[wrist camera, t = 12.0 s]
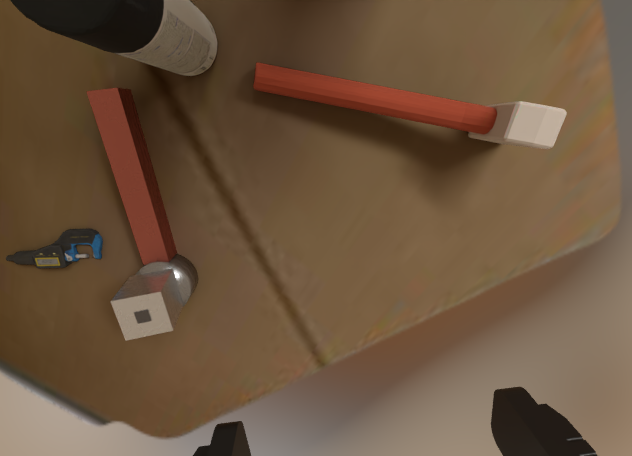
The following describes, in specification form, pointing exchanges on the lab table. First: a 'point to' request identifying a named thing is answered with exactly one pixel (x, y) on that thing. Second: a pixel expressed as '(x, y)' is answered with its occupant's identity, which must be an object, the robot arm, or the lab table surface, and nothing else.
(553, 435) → the robot arm
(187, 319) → the lab table surface
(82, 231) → the micrometer
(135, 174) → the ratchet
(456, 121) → the mallet
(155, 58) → the spray can
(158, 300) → the cube with square hole
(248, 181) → the lab table surface
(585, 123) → the lab table surface
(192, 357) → the lab table surface
